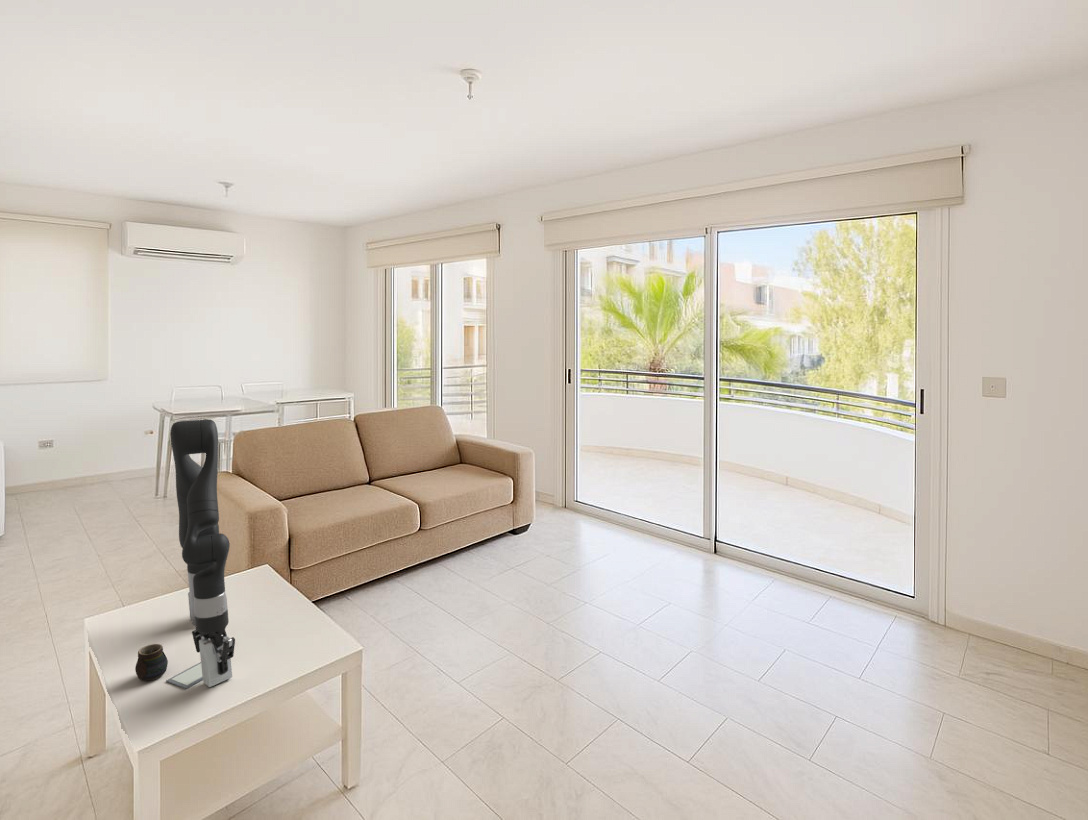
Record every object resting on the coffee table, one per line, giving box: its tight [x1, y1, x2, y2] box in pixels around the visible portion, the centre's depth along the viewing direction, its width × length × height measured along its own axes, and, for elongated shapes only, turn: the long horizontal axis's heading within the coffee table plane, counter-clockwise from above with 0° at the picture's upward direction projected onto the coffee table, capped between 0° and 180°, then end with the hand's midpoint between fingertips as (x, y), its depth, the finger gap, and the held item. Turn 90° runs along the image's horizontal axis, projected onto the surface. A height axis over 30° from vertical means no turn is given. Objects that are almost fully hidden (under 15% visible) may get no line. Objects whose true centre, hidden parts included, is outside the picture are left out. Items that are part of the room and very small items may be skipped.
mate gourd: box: [134, 643, 169, 682], centre depth 159 cm, size 7×8×10 cm
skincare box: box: [199, 634, 233, 688], centre depth 157 cm, size 6×4×12 cm
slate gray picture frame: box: [165, 661, 203, 690], centre depth 160 cm, size 8×10×1 cm
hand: (216, 670), depth 157 cm, fingers closed on skincare box, 5 cm apart
